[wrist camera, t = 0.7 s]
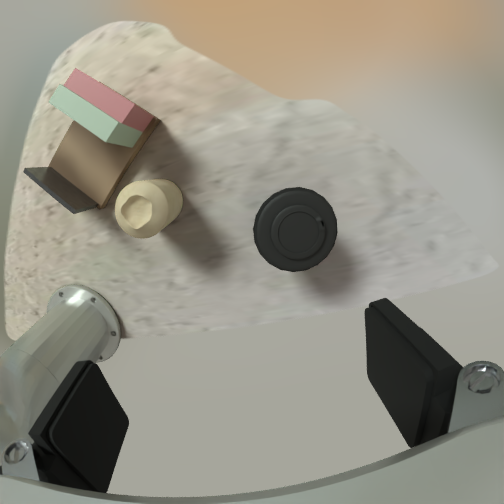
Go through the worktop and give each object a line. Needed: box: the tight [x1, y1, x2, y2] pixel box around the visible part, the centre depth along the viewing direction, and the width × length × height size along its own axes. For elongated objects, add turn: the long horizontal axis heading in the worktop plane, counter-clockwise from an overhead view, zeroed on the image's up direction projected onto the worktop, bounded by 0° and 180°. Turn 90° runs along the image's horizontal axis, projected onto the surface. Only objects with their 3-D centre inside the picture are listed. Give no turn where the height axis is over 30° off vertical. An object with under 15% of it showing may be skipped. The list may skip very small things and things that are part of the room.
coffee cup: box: [253, 187, 337, 272], centre depth 32 cm, size 8×8×10 cm
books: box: [49, 68, 153, 148], centre depth 27 cm, size 4×9×8 cm, turn 53°
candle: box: [115, 179, 183, 238], centre depth 30 cm, size 6×6×10 cm
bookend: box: [23, 167, 98, 214], centre depth 30 cm, size 1×9×6 cm, turn 53°
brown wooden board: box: [48, 82, 160, 209], centre depth 32 cm, size 13×10×2 cm
